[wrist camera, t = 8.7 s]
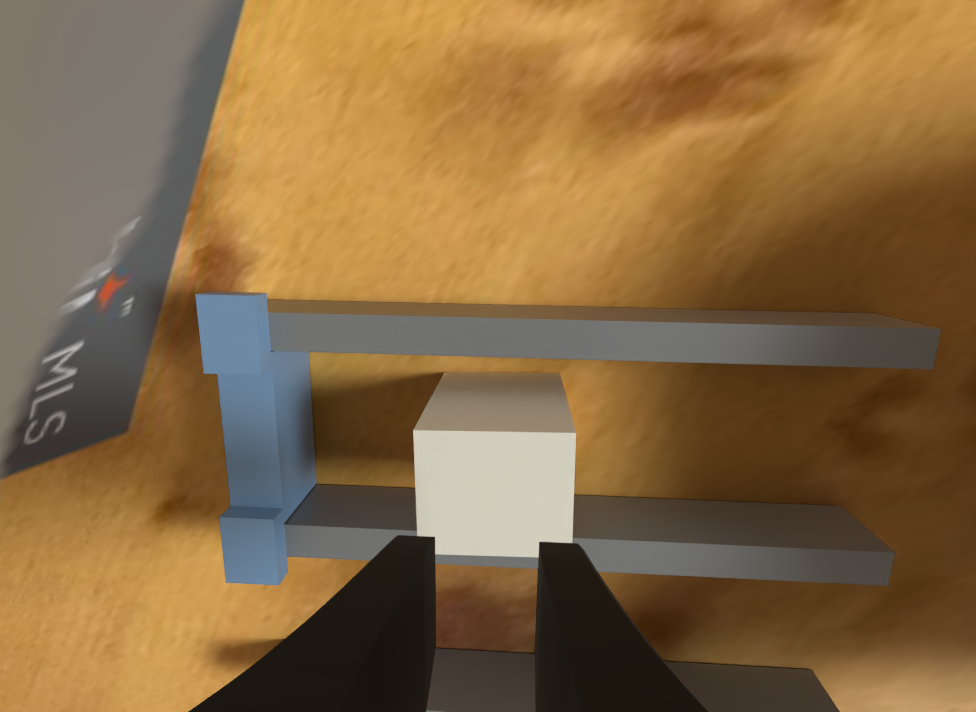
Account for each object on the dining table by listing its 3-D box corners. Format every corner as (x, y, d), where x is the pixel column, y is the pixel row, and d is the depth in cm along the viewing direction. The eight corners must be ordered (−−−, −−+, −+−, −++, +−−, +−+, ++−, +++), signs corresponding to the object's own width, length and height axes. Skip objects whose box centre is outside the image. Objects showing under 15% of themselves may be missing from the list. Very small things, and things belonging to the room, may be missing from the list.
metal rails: (286, 663, 19) (242, 743, 16) (255, 282, 16) (195, 294, 13) (807, 694, 18) (863, 785, 15) (878, 295, 15) (965, 311, 12)
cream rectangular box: (446, 463, 17) (417, 553, 12) (444, 371, 17) (413, 430, 12) (557, 465, 17) (571, 558, 12) (559, 372, 16) (576, 433, 12)
